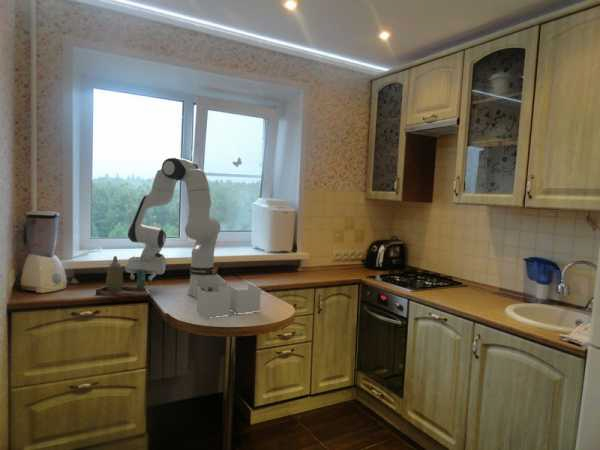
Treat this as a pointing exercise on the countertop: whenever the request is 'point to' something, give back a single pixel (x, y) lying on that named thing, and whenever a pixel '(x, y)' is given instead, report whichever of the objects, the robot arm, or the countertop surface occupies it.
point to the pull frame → (139, 287)
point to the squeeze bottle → (114, 277)
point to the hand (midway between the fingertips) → (140, 279)
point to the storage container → (228, 301)
